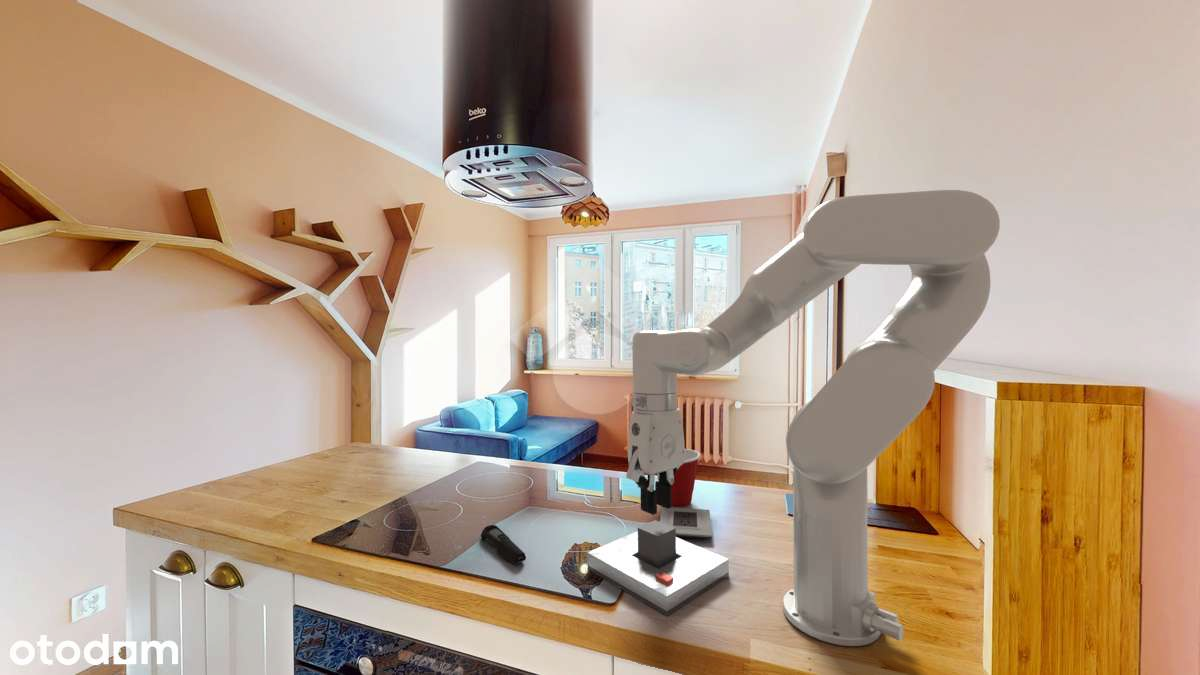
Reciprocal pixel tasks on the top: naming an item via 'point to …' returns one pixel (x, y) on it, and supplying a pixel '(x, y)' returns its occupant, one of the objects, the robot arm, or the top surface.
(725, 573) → the socket plate
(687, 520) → the electrical outlet
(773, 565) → the top surface
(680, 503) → the plastic cup
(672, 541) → the block
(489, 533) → the electric trimmer
